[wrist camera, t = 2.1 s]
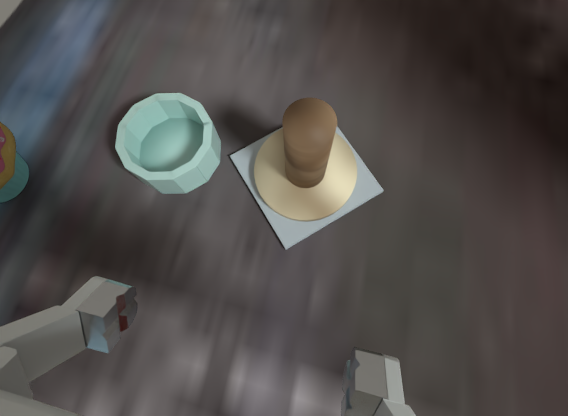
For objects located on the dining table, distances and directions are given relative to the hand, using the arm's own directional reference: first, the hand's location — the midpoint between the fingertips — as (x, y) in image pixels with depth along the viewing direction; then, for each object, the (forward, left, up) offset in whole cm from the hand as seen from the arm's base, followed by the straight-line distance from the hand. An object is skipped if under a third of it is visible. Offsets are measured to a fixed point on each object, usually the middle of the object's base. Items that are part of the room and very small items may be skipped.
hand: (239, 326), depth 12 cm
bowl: (0, -17, -16) cm, 23 cm away
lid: (-9, -9, -15) cm, 20 cm away
